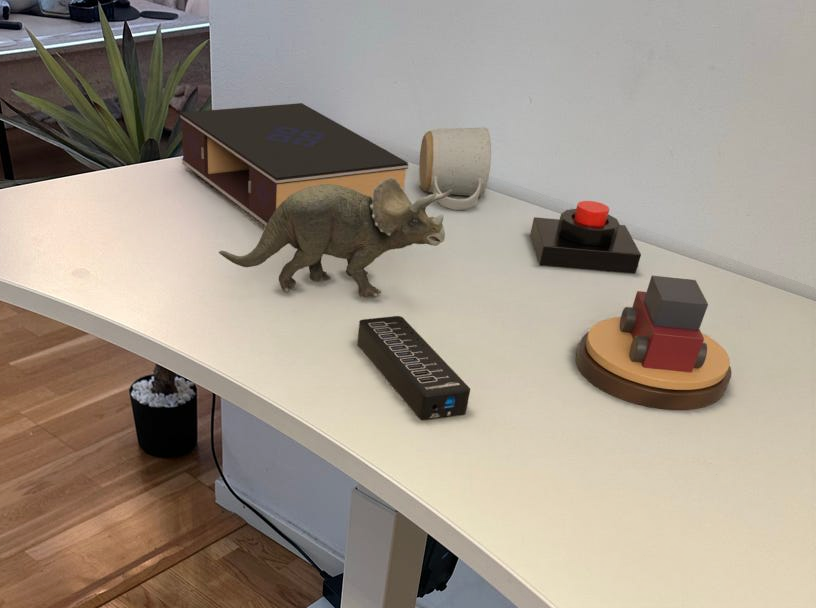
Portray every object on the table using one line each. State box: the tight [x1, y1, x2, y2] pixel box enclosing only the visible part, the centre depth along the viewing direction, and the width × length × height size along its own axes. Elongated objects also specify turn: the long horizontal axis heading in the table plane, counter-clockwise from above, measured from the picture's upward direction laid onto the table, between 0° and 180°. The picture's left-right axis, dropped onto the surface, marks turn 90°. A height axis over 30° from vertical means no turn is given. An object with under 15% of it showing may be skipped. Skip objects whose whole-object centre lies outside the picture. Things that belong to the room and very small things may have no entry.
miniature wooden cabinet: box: [179, 102, 409, 227], centre depth 110 cm, size 17×25×7 cm
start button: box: [574, 200, 610, 226], centre depth 103 cm, size 4×4×2 cm
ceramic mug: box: [418, 126, 492, 211], centre depth 114 cm, size 11×8×8 cm
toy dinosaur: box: [218, 177, 452, 299], centre depth 90 cm, size 22×8×11 cm, turn 90°
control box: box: [529, 208, 642, 275], centre depth 104 cm, size 11×9×4 cm
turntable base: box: [575, 330, 733, 411], centre depth 85 cm, size 14×14×2 cm
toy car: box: [586, 275, 731, 390], centre depth 82 cm, size 13×13×6 cm
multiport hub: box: [357, 315, 471, 421], centre depth 81 cm, size 4×14×2 cm, turn 21°
